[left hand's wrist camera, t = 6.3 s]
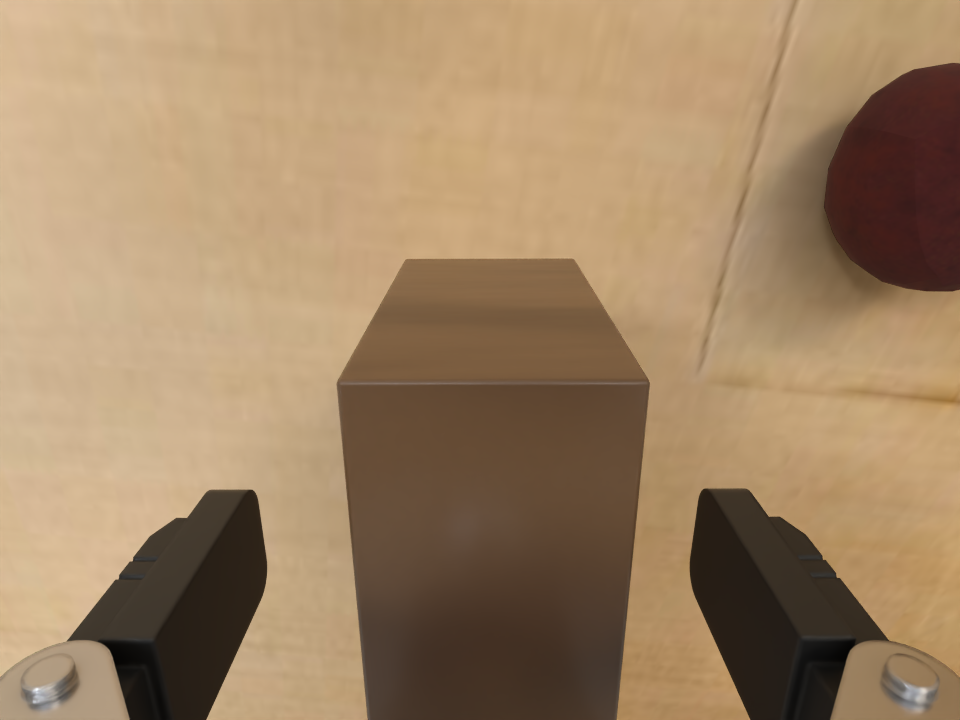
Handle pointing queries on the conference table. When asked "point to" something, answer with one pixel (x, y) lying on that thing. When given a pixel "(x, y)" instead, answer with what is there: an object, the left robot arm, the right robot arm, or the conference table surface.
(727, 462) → the conference table surface
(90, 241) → the conference table surface
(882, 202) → the dark red rounded ball
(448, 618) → the bar
